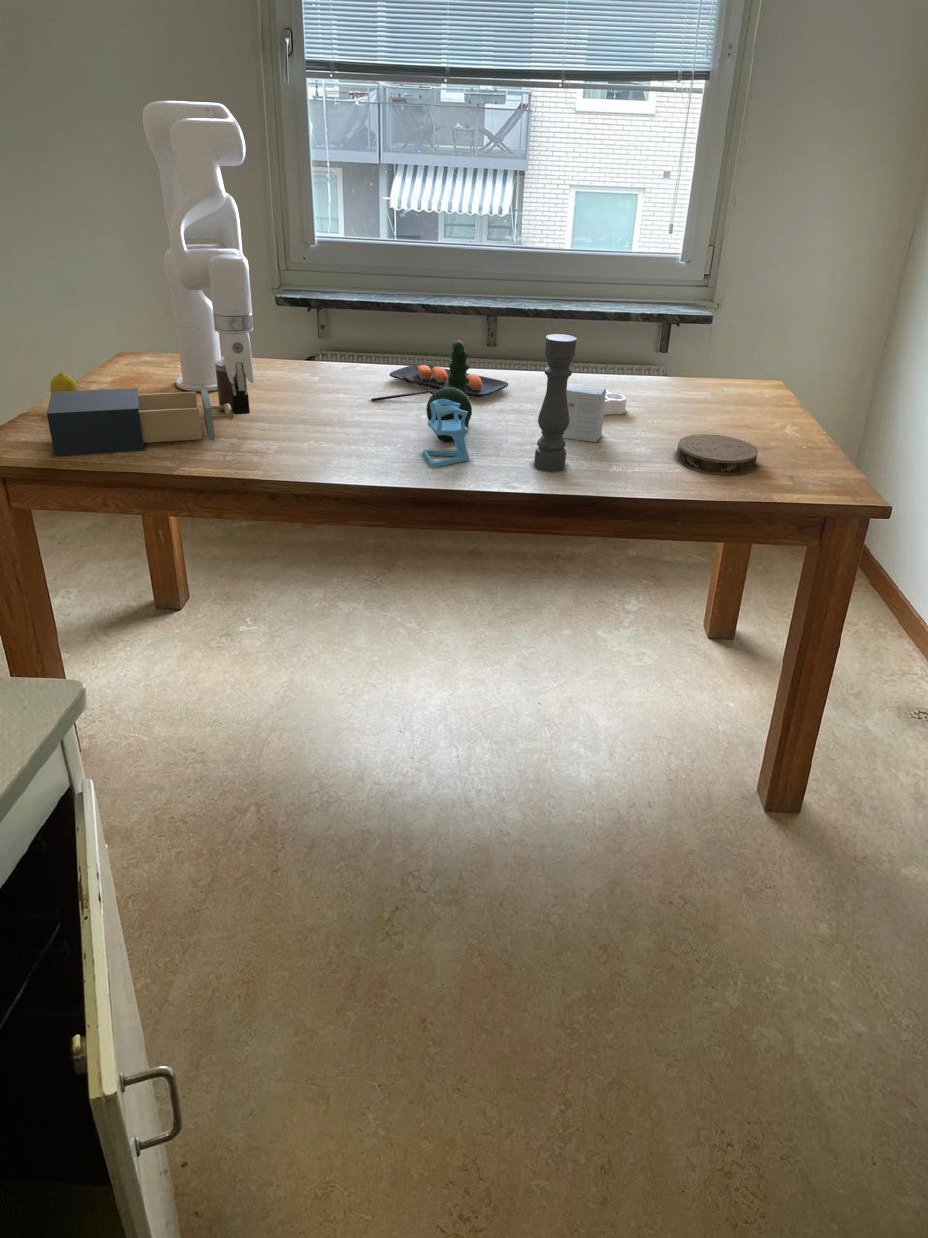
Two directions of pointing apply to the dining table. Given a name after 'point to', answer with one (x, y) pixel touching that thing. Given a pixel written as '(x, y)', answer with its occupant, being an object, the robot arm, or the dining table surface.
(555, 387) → the candle holder
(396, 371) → the sushi plate
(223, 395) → the brown lidded jar
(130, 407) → the cabinet
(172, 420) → the drawer
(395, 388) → the dining table surface
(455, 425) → the chair
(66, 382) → the lemon
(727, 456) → the tambourine
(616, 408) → the white brass knuckles
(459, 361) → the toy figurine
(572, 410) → the small box
